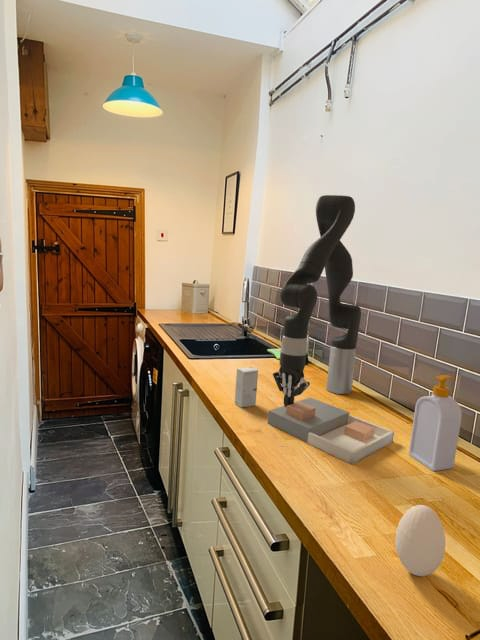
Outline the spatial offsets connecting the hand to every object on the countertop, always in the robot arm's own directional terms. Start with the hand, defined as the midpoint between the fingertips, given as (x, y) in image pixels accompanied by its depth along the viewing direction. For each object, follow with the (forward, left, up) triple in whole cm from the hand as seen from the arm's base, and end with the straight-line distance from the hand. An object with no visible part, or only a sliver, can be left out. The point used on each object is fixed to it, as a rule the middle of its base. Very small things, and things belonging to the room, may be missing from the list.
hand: (288, 407), depth 124 cm
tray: (-5, +19, -5) cm, 20 cm away
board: (-5, +5, -5) cm, 8 cm away
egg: (+28, +52, -5) cm, 60 cm away
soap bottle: (-13, +38, -5) cm, 40 cm away
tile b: (0, +5, -1) cm, 5 cm away
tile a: (-10, +19, -2) cm, 21 cm away
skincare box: (0, -18, -5) cm, 19 cm away
